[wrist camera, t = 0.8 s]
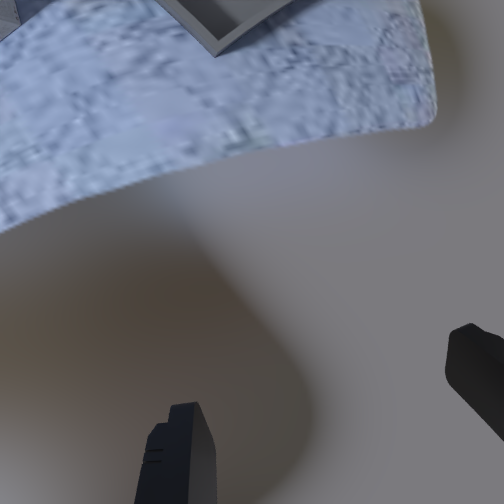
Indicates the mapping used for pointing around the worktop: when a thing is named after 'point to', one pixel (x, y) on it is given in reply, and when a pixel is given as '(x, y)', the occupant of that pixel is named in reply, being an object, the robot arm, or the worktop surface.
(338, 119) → the worktop surface
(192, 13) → the tray
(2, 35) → the skincare box
